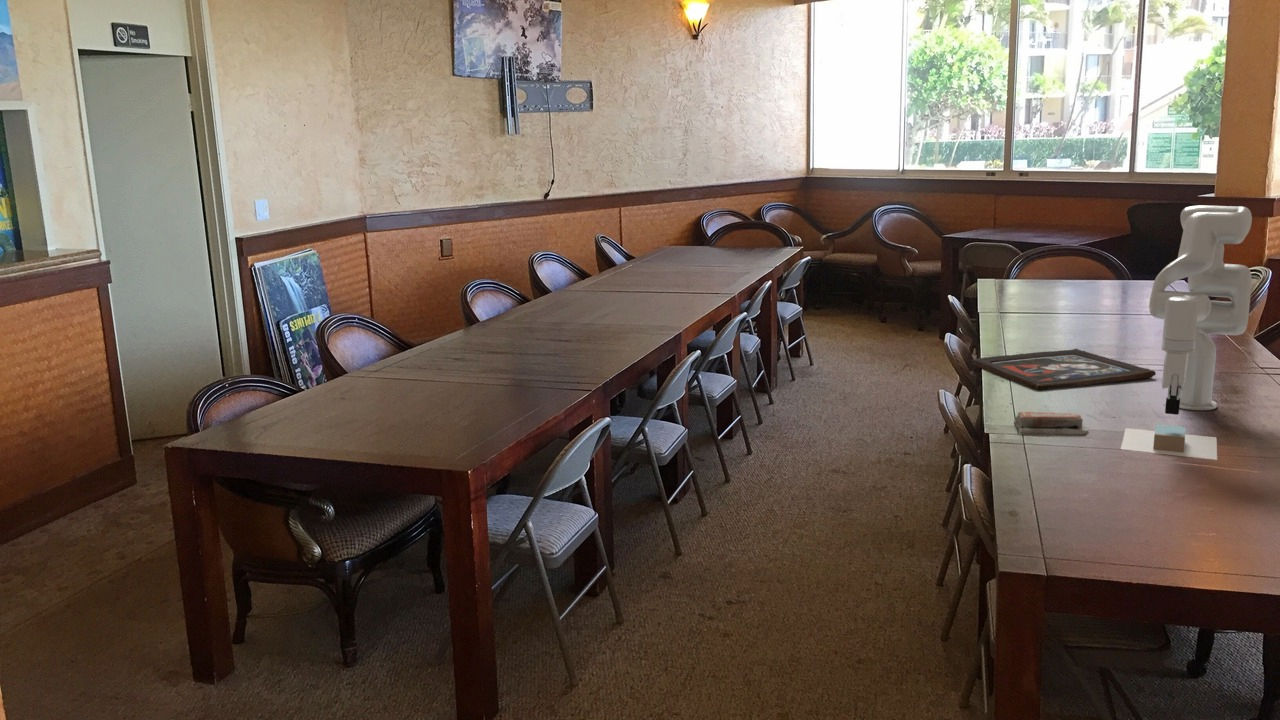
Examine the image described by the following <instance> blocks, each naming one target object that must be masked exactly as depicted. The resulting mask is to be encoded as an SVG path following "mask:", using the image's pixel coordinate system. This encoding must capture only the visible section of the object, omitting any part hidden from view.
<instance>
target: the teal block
mask: <svg viewBox="0 0 1280 720" xmlns="http://www.w3.org/2000/svg"><path fill="white" fill-rule="evenodd" d="M1186 430H1187V428H1186V426H1180V425H1178V426H1177V425H1170V424H1169V425H1168V424H1157V423H1155V429H1154V431H1155V434H1154V446H1153V449H1155V450H1164V451H1173V452H1183V453H1184V444H1185V434H1186Z"/></svg>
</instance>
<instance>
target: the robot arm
mask: <svg viewBox="0 0 1280 720" xmlns="http://www.w3.org/2000/svg"><path fill="white" fill-rule="evenodd" d="M1252 216H1253V215H1252V212H1251V210H1250V209H1249V208H1248V207H1247V206H1240V205H1239V206H1238V205H1237V206H1236V205H1235V206H1234V205H1233V206H1232V205H1229V206H1227V205H1209V204H1208V205H1206V204H1205V205H1191V206H1186V207H1184V208H1183V209H1182V210H1181V212H1180V224H1181V227H1182V230H1183V231H1182V235H1181V241H1180V245H1179V250H1178V255H1177V258H1176V259H1174V260H1173V261H1171V262H1169V264H1166V266H1165V267H1164V268H1162V270H1161V271H1160V272H1159V273H1158V274H1157V275H1156V277H1155V279H1154V282H1153V285H1152V287H1151V293H1150V299H1149V302H1148V303H1149V305H1148V309H1149V313H1150V315H1151V316H1152V317H1153V318H1155V319H1159V320H1161V319H1162V320H1163V327H1162V338H1161V339H1162V340H1161V351H1164V352H1165V354H1164V360H1163V372H1162V383H1161V388H1162V389H1163V390H1165V389H1167V397H1166V399H1165V409H1164V413H1165V414H1167V415H1174V416H1175V415H1176V416H1177V415H1180V409H1183V410H1190V411H1210V410H1211V411H1212V410H1214V409H1216V408H1217V406H1218V403H1217V402H1216V401H1215V400H1212V399H1213V398H1212V396H1213V387H1214V376H1215V366H1216V360H1217V359H1216V357H1217V347H1216V344H1215V343H1214V341H1213V339H1212V338H1211V337H1210V335H1212V334H1214V335H1215V334H1216V335H1225V336H1239V335H1242V334H1244V333H1245V332H1246V330H1247V328H1248V324H1249V318H1250V317H1249V316H1250V305H1251V295H1252V293H1251V292H1252V279H1253V278H1252V272H1251V270H1250V268H1249V267H1248V266H1247V265H1243V264H1236V263H1235V264H1233V263H1225V262H1224V256H1225V255H1224V254H1225V253H1224V252H1225V245H1238V244H1241V243H1243V242H1244V240H1245V238H1246V237H1247V235H1248V234H1249V232H1250V231H1251V227H1252V223H1253V222H1252V221H1253V217H1252ZM1186 278H1187V289H1188V291H1180V290H1179V291H1177V290H1166V289H1167V287H1169V286H1170V285H1172V284H1173V283H1175V282H1177V281H1179V280H1182V279H1186ZM1210 297H1216V298H1228V299H1230V300H1231V301H1221V300H1211V299H1210ZM1209 334H1210V335H1209Z"/></svg>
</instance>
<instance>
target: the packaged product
mask: <svg viewBox="0 0 1280 720" xmlns="http://www.w3.org/2000/svg"><path fill="white" fill-rule="evenodd" d="M1083 421H1084V420H1083V418H1082V415H1080V414H1076V413H1069V412H1068V413H1065V412H1042V411H1041V412H1039V411H1035V412H1034V411H1019V412H1018V414H1017V415H1016V417H1015V419H1014V420H1013V424H1014V425H1015V427H1016V428H1017V430H1018V431H1019V433H1020V434H1040V435H1044V434H1045V435H1087V434H1089V432H1090V430H1089V429H1088V428H1087V427H1086V426H1084V424H1083Z"/></svg>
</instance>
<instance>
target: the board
mask: <svg viewBox="0 0 1280 720" xmlns="http://www.w3.org/2000/svg"><path fill="white" fill-rule="evenodd" d="M1154 434H1155V430H1147V429H1138V428H1137V429H1136V428H1128V427H1126V428H1125V429H1124V434H1123V438H1122V442H1121V446H1120V450H1123V451H1124V450H1125V451H1134V452H1140V453H1141V452H1142V453H1151V454H1158V455H1159V454H1161V455H1168V456H1169V455H1171V456H1178V457H1179V456H1180V457H1187V458H1188V457H1189V458H1196V459H1204V460H1205V459H1206V460H1215V461H1217V460H1218V449H1217V448H1218V442H1217V441H1218V440H1217V437H1216V436H1204V435H1197V434H1187V433H1185V444H1184V453H1183V452H1173V451H1164V450H1155V449H1153V446H1154Z"/></svg>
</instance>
